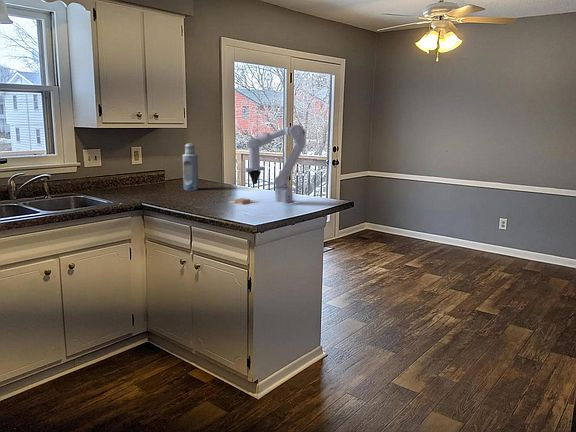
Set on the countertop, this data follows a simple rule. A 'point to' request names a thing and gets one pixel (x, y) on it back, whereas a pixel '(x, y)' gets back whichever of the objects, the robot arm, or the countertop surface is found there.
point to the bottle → (190, 168)
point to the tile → (242, 200)
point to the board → (244, 203)
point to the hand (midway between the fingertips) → (254, 183)
